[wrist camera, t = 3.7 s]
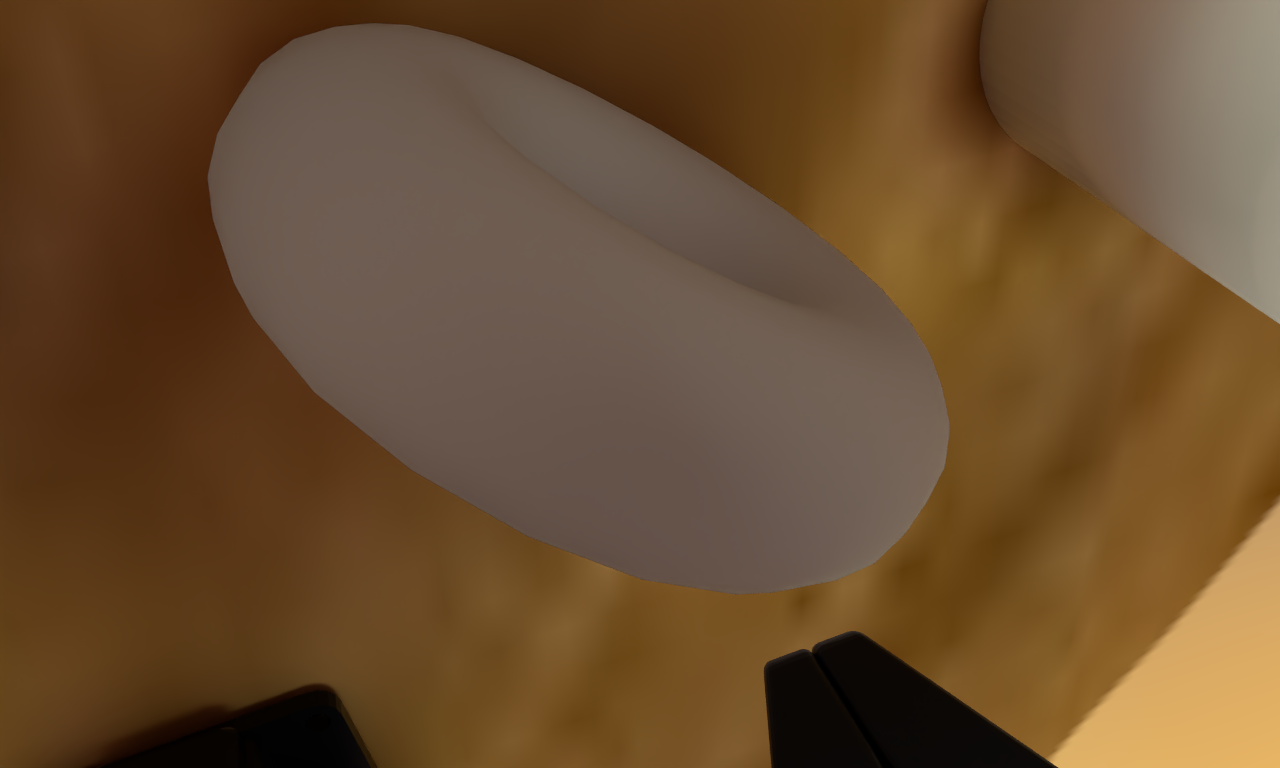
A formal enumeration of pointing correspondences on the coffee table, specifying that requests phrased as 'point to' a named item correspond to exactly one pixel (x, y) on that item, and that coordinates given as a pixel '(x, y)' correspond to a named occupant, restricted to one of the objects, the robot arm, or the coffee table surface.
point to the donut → (572, 314)
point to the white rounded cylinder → (1154, 118)
